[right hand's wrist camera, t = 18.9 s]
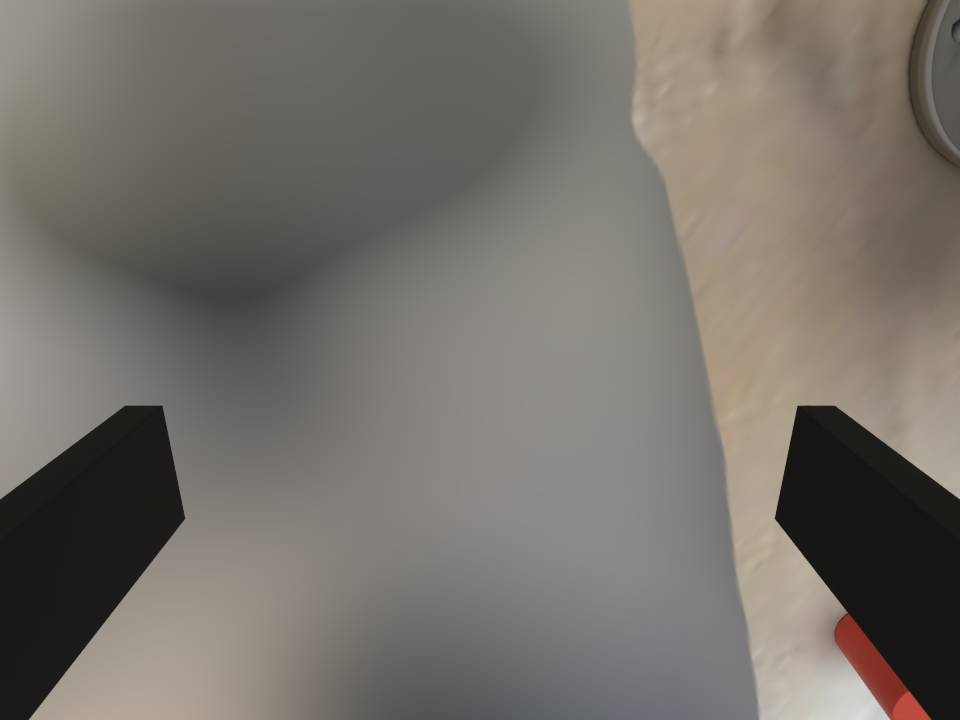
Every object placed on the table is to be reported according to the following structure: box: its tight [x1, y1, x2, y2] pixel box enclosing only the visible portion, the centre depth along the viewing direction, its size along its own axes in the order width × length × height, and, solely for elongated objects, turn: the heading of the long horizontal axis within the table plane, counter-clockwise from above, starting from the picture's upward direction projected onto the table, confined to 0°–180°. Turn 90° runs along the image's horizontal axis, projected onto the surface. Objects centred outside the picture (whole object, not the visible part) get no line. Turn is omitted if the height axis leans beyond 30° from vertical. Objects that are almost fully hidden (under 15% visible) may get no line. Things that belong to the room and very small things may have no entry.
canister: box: [835, 614, 931, 720], centre depth 49 cm, size 6×6×8 cm
